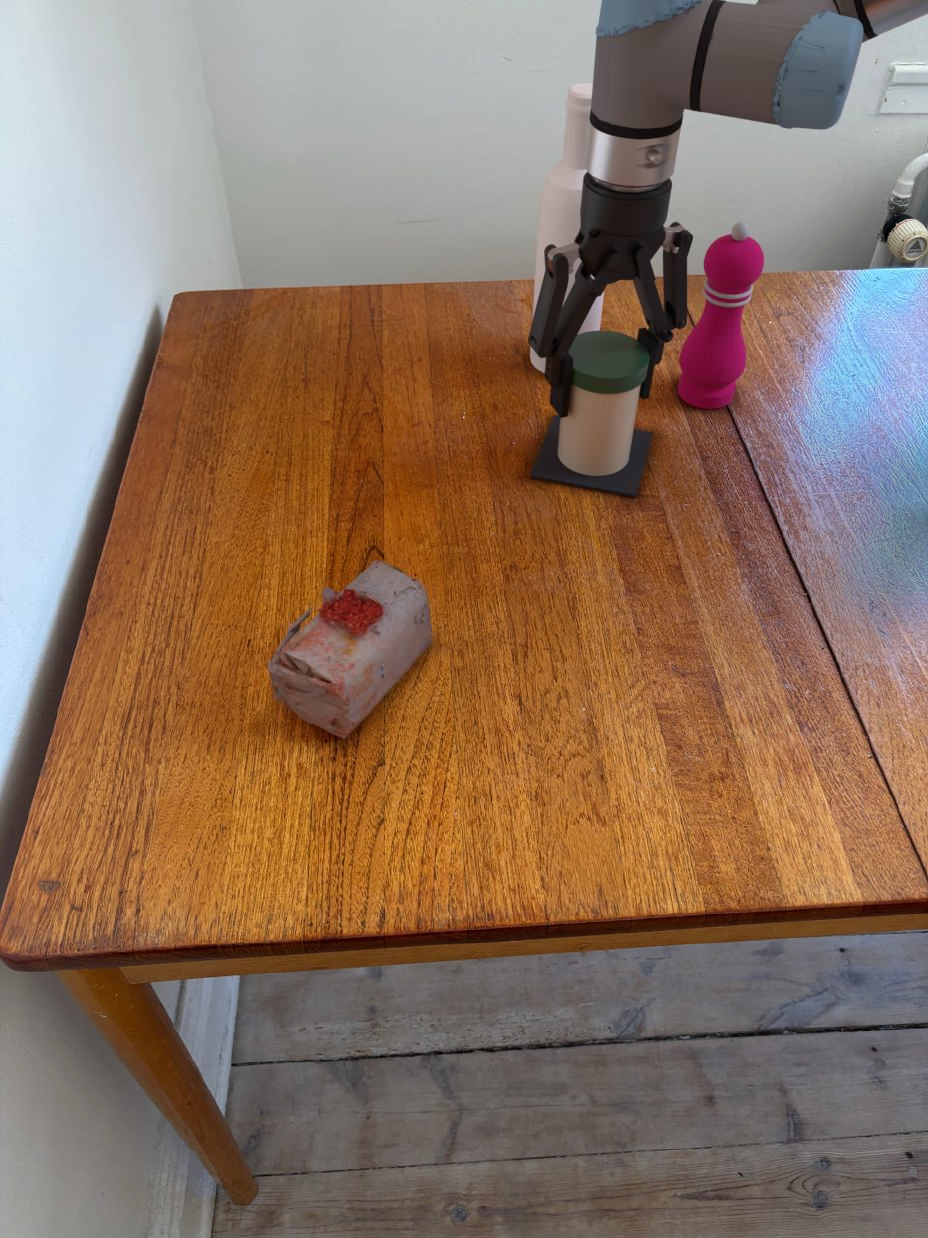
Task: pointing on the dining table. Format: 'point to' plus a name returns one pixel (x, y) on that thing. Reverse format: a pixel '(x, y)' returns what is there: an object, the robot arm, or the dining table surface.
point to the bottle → (566, 203)
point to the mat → (615, 483)
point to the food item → (352, 649)
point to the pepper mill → (720, 321)
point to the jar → (597, 431)
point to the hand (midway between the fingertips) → (599, 400)
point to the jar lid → (608, 362)
